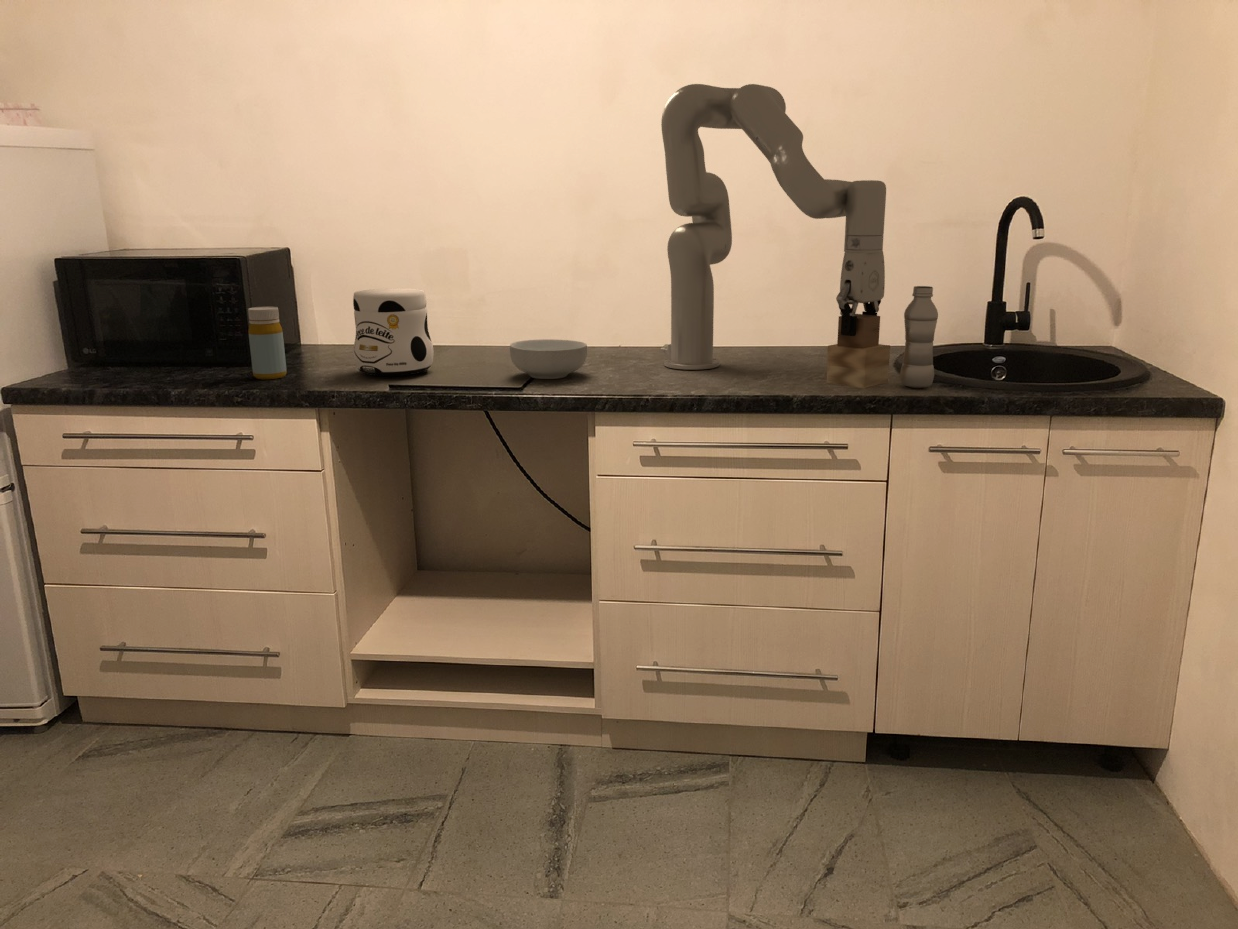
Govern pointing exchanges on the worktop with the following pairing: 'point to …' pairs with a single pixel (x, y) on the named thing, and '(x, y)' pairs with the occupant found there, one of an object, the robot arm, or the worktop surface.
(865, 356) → the tower top
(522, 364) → the cereal bowl
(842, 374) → the tower base
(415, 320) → the doce de leite jar
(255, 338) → the bottle
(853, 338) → the walnut cube
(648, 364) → the worktop surface
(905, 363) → the plastic bottle
